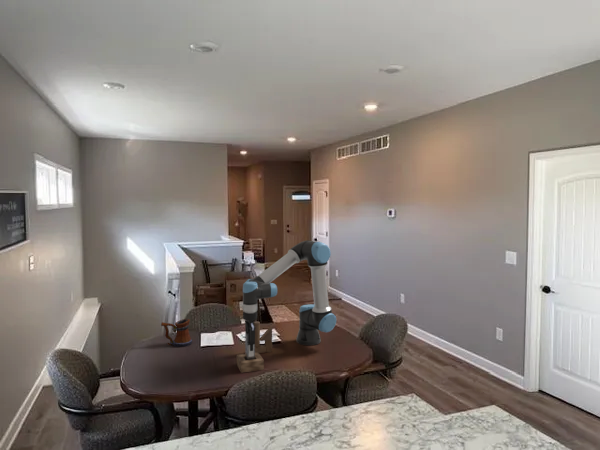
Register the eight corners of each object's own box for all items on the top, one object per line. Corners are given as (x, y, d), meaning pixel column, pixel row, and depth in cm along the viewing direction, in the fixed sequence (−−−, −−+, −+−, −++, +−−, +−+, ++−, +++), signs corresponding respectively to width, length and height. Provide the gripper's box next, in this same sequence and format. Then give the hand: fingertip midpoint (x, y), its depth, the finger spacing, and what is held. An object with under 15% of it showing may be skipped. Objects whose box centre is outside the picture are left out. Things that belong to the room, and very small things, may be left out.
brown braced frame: (272, 351, 247) (272, 321, 246) (254, 354, 244) (254, 323, 242) (270, 349, 251) (270, 319, 250) (252, 352, 247) (252, 321, 246)
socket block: (258, 361, 233) (258, 352, 233) (263, 369, 222) (263, 360, 221) (236, 364, 229) (236, 355, 228) (241, 372, 218) (241, 363, 217)
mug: (161, 349, 250) (161, 324, 249) (161, 342, 261) (161, 319, 260) (192, 346, 256) (192, 321, 255) (191, 340, 267) (191, 316, 266)
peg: (252, 357, 228) (252, 332, 227) (254, 360, 224) (254, 334, 223) (245, 358, 226) (245, 332, 225) (247, 361, 222) (247, 335, 222)
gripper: (239, 307, 230) (239, 350, 232) (246, 316, 214) (246, 361, 216) (253, 306, 233) (253, 348, 234) (261, 315, 217) (261, 359, 218)
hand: (250, 354), depth 225 cm, fingers closed on peg, 4 cm apart
